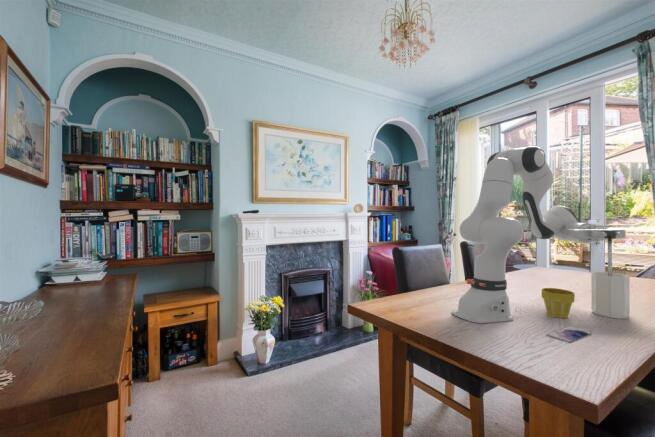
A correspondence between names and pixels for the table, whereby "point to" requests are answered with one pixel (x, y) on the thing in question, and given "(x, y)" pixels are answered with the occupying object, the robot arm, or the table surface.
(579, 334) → the smartphone
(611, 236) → the plunger
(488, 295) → the robot arm
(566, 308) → the plant pot
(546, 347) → the table surface
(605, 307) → the press carafe
